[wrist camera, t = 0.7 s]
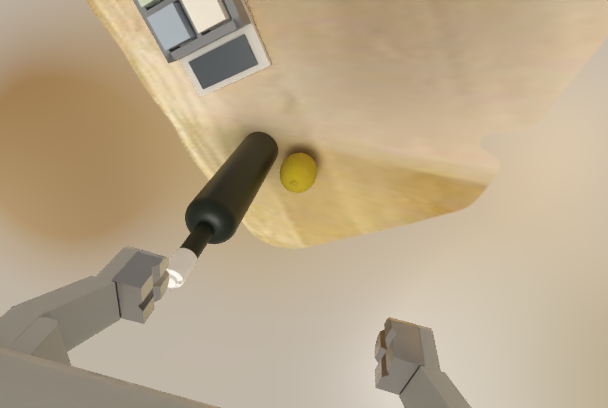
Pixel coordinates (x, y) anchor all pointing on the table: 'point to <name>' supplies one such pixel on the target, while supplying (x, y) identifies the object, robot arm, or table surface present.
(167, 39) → the key slate
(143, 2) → the key sage
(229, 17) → the key ivory
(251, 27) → the keypad
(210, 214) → the wine bottle
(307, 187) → the lemon
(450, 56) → the table surface
